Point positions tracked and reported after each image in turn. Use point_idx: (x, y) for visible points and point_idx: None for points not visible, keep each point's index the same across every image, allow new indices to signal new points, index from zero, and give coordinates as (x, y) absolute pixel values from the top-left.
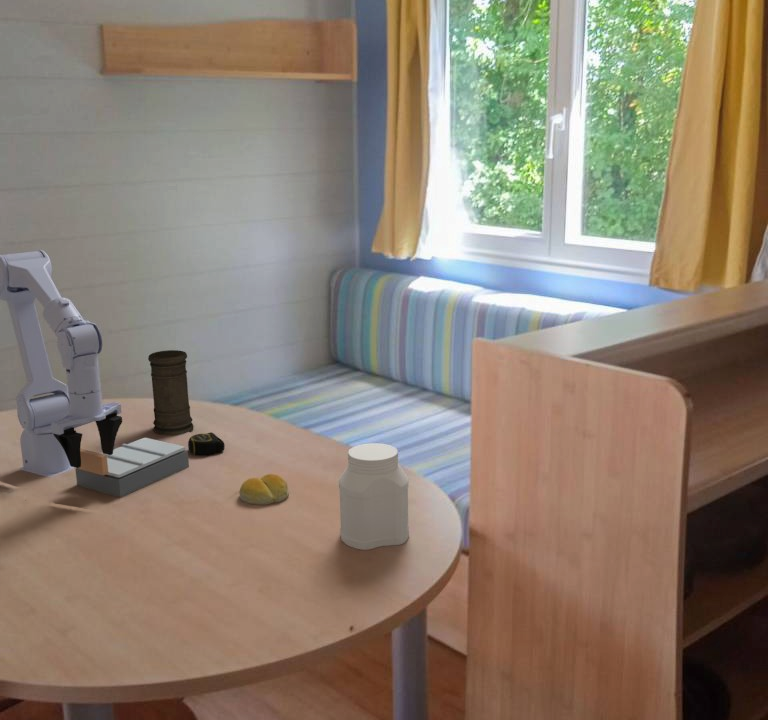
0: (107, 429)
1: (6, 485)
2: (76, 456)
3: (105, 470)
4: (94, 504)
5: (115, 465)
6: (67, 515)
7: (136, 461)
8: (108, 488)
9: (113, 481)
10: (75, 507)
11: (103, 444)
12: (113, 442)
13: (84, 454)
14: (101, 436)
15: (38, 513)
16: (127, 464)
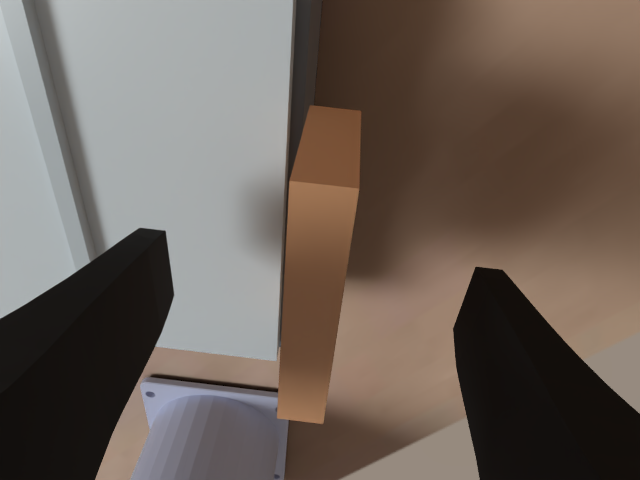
0: (35, 445)
1: (387, 455)
2: (561, 342)
3: (332, 122)
4: (434, 73)
5: (167, 165)
6: (613, 104)
7: (21, 49)
8: (311, 86)
9: (310, 45)
10: (500, 139)
11: (141, 342)
12: (80, 282)
13: (332, 354)
14: (110, 415)
15: (605, 243)
16: (97, 98)
